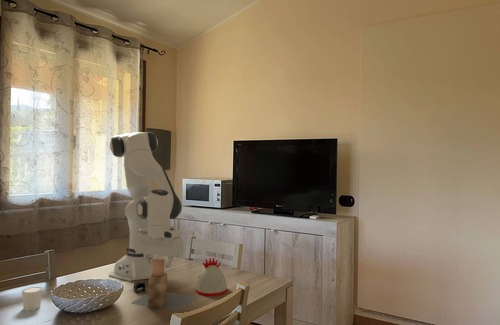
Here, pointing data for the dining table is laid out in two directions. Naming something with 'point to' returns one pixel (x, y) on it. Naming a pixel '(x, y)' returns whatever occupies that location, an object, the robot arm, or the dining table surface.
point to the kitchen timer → (211, 280)
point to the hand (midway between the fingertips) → (158, 266)
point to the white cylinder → (32, 298)
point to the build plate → (139, 285)
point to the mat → (170, 301)
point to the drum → (158, 267)
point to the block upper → (157, 283)
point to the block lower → (157, 299)
